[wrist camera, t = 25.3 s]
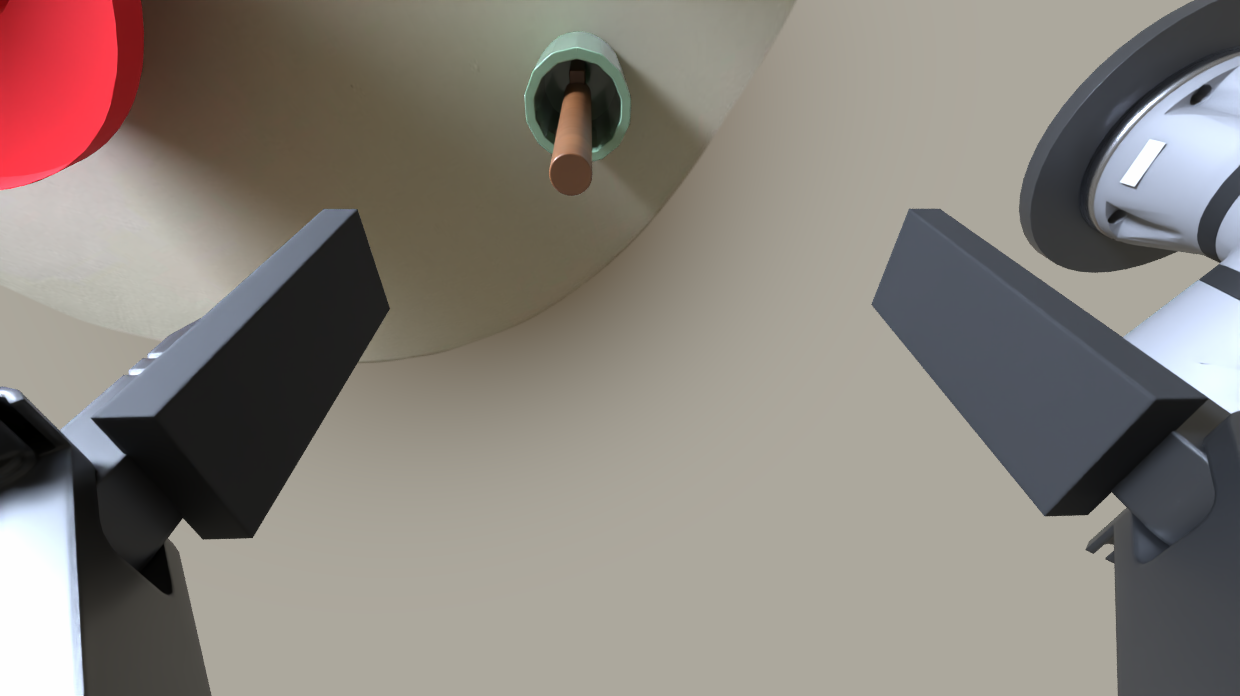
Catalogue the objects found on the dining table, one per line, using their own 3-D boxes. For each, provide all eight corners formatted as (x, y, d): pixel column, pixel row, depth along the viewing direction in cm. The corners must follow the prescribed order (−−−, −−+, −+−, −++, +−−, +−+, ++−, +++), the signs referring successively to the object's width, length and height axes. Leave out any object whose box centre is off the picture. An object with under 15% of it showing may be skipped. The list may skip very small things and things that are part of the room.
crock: (624, 31, 35) (633, 48, 28) (621, 128, 39) (628, 165, 32) (534, 28, 35) (519, 45, 28) (540, 127, 39) (529, 163, 32)
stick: (590, 58, 35) (591, 135, 20) (591, 107, 37) (592, 212, 21) (565, 57, 35) (546, 134, 19) (567, 106, 37) (551, 211, 21)
